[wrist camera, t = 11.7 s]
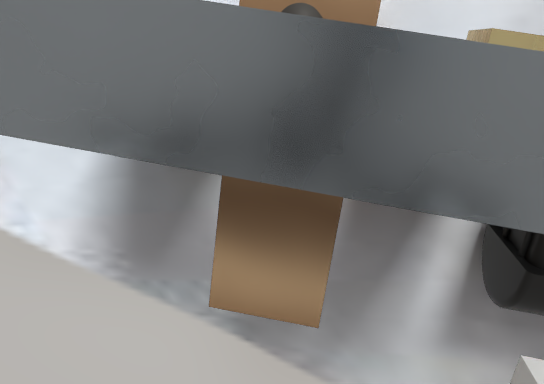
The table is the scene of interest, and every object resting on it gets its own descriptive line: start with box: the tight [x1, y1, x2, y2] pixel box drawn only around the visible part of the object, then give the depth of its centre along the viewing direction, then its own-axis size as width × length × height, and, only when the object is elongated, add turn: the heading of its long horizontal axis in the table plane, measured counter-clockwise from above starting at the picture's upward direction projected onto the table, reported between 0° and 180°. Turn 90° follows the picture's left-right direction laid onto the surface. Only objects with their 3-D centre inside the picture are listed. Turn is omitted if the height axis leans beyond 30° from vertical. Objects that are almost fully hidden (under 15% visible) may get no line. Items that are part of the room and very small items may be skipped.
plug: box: [209, 0, 381, 328], centre depth 20 cm, size 13×4×12 cm, turn 172°
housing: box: [0, 0, 544, 234], centre depth 18 cm, size 4×18×15 cm, turn 82°
